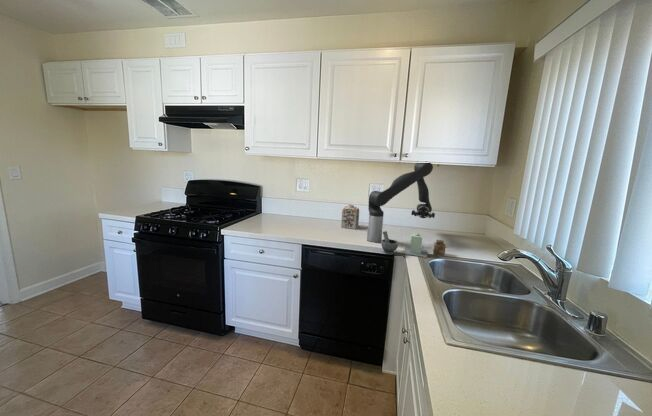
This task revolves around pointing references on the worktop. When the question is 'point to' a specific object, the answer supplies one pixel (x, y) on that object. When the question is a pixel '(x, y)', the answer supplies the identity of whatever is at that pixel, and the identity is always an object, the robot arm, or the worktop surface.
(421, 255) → the grey square tile
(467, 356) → the worktop surface
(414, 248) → the pale green block
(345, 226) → the decorative jar
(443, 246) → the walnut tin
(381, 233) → the robot arm
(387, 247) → the mortar and pestle
